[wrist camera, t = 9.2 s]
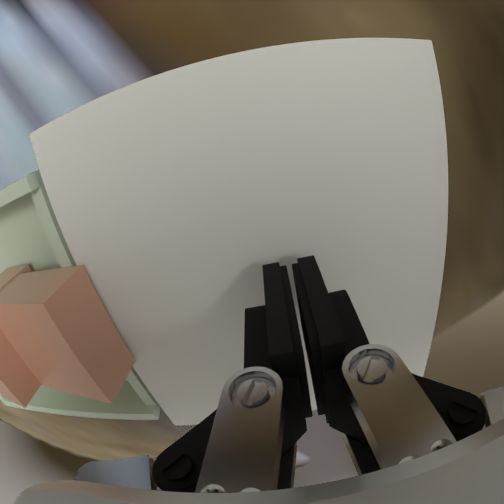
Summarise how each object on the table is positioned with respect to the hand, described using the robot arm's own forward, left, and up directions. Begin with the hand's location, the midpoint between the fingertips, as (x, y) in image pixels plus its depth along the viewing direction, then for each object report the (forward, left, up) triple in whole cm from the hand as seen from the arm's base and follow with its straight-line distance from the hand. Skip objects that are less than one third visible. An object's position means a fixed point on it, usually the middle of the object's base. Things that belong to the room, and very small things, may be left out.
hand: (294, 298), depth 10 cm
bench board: (+1, 0, -3) cm, 3 cm away
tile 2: (+10, 0, -1) cm, 10 cm away
